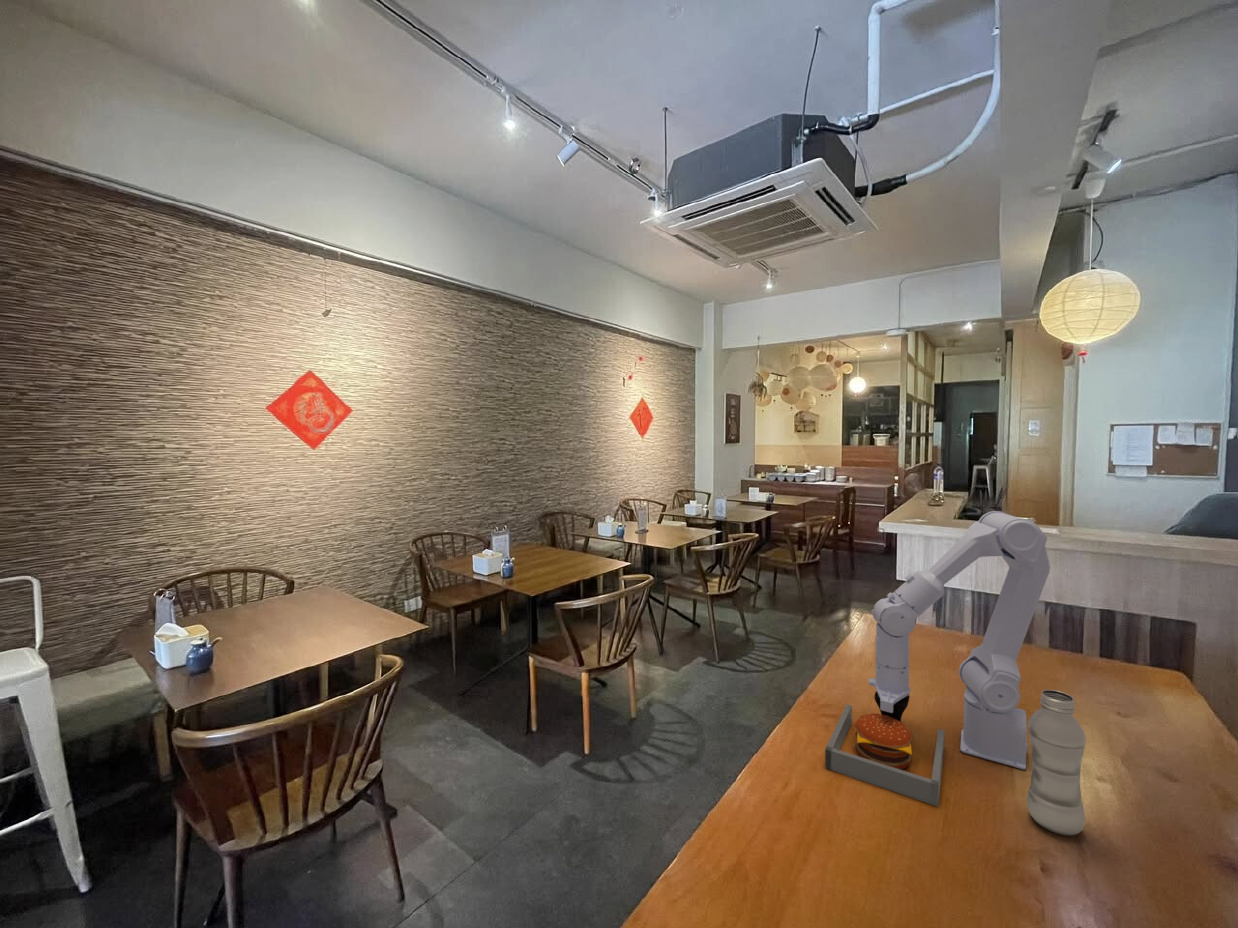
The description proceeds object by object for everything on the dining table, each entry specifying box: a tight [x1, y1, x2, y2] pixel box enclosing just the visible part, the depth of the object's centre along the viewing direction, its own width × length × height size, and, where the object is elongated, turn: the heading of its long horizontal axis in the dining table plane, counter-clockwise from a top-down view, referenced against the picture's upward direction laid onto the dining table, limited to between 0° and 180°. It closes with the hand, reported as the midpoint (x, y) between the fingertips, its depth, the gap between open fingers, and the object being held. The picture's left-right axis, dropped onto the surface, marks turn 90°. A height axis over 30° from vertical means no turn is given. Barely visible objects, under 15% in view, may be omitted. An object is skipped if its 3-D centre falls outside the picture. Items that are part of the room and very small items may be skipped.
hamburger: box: [854, 713, 913, 770], centre depth 93 cm, size 9×10×7 cm
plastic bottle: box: [1026, 689, 1087, 837], centre depth 75 cm, size 6×7×20 cm
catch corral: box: [824, 703, 945, 807], centre depth 92 cm, size 17×18×4 cm
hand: (891, 731), depth 98 cm, fingers closed
